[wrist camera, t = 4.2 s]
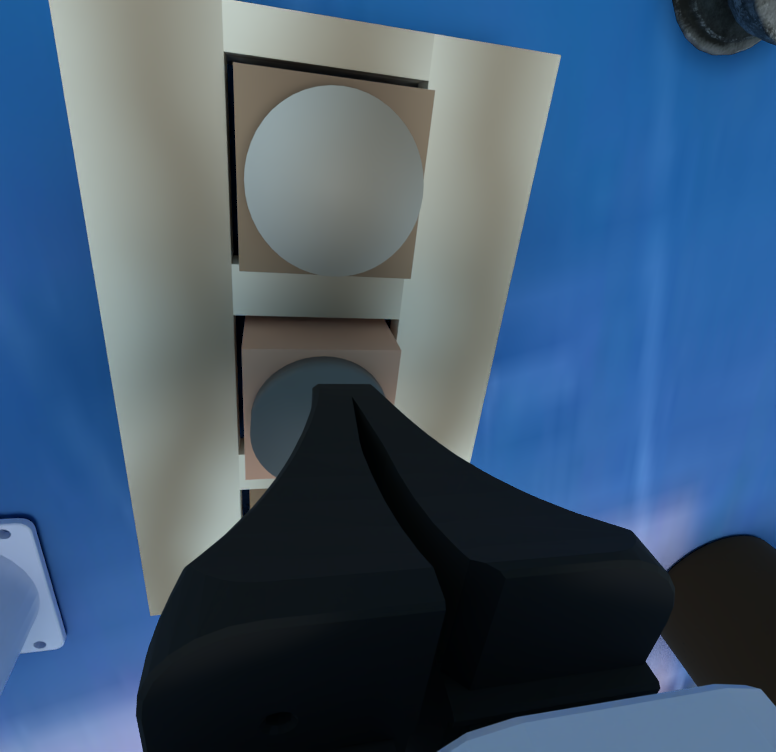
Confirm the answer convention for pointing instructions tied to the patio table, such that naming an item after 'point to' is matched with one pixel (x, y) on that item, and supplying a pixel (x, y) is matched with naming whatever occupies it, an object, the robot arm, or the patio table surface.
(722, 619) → the olive oil
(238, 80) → the cube with pale circle
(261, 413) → the beige grey-dot cube
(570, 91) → the patio table surface
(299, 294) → the grey square block
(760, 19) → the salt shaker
